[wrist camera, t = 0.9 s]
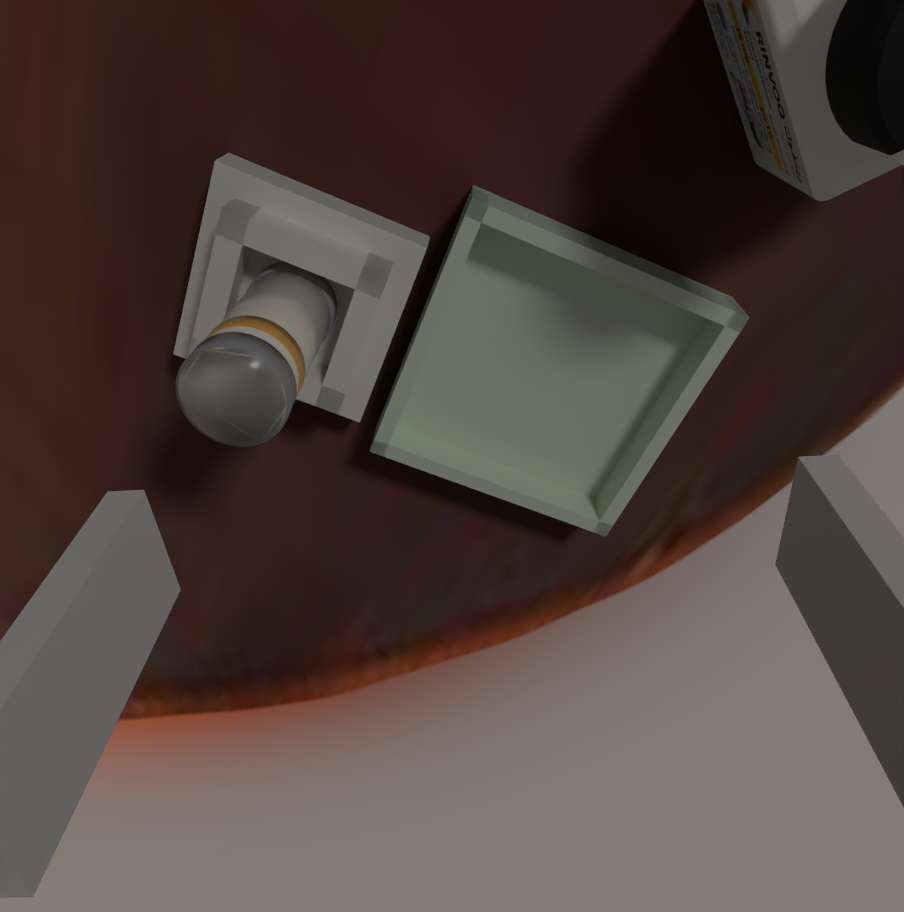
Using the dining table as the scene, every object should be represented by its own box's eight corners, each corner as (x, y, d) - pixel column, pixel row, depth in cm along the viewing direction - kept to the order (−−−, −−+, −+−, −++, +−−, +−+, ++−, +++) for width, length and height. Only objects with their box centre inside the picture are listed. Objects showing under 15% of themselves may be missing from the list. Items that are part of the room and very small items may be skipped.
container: (697, -9, 30) (820, -16, 19) (896, -125, 28) (1166, -212, 17) (754, 167, 33) (886, 248, 22) (935, 76, 31) (1180, 115, 20)
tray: (376, 425, 41) (369, 451, 39) (473, 184, 34) (472, 198, 32) (599, 507, 44) (605, 536, 41) (732, 297, 37) (749, 317, 34)
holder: (186, 338, 39) (157, 370, 36) (228, 152, 34) (199, 169, 31) (365, 404, 41) (354, 441, 37) (429, 236, 36) (423, 260, 32)
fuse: (241, 325, 36) (166, 423, 28) (262, 246, 34) (187, 327, 26) (323, 356, 37) (273, 461, 28) (348, 281, 35) (302, 370, 26)
